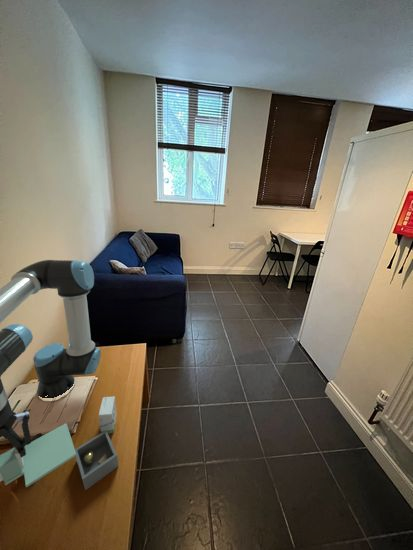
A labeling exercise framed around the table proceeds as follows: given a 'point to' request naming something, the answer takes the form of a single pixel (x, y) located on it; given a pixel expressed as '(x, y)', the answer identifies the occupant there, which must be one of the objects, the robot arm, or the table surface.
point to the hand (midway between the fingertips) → (12, 469)
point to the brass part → (89, 458)
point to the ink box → (107, 414)
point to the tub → (96, 459)
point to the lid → (39, 457)
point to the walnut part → (103, 459)
